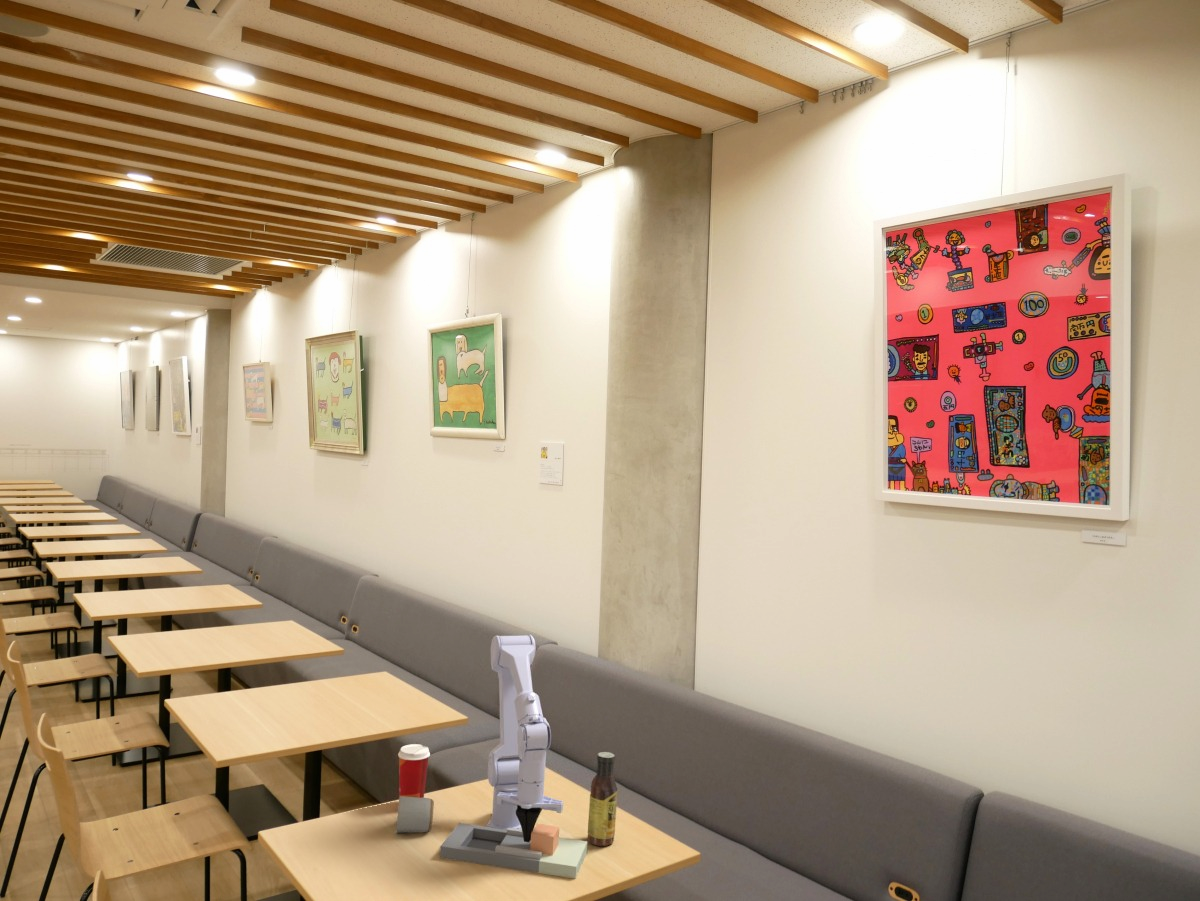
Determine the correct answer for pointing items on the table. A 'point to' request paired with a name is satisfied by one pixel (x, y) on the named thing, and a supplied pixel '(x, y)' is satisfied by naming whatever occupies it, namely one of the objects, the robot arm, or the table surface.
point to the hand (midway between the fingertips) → (527, 840)
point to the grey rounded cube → (414, 814)
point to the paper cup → (413, 770)
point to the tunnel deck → (512, 850)
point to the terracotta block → (544, 839)
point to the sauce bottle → (603, 802)
